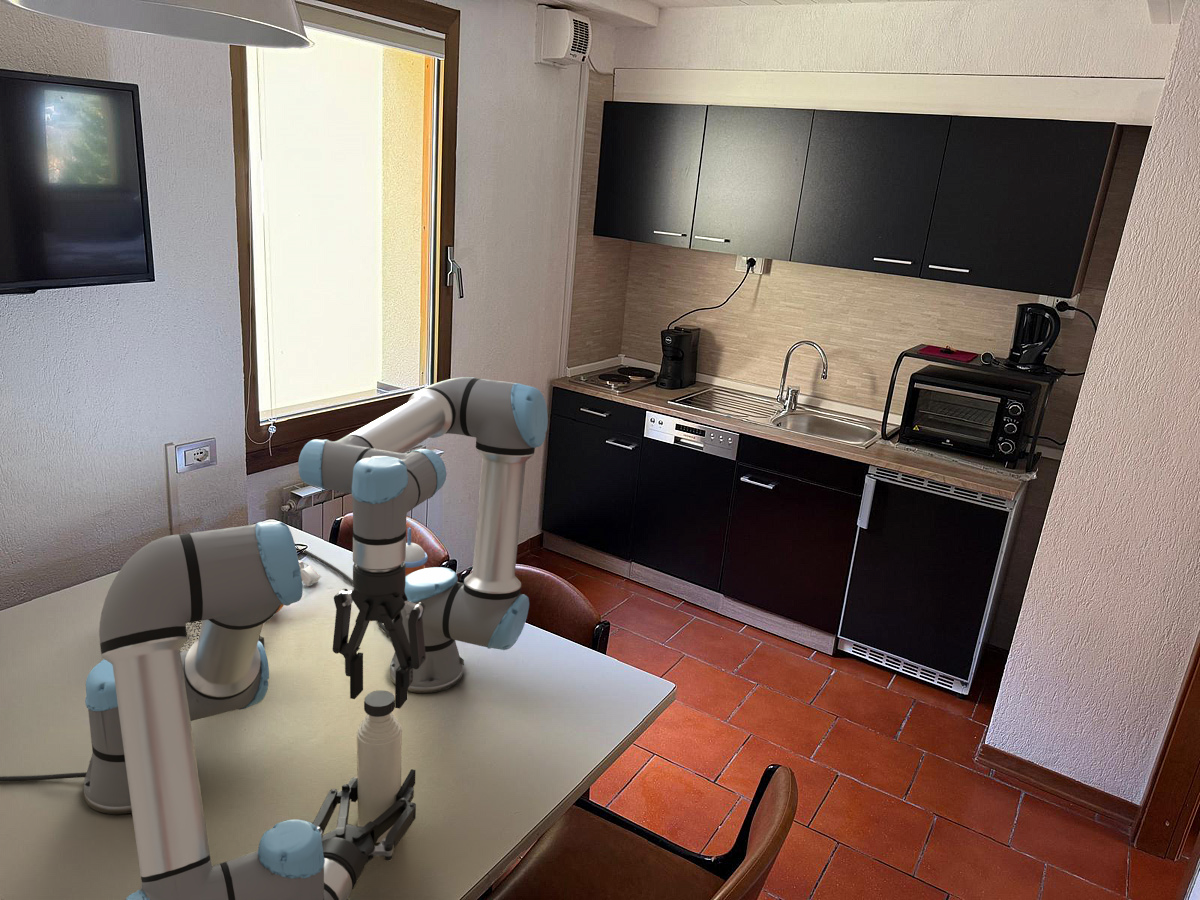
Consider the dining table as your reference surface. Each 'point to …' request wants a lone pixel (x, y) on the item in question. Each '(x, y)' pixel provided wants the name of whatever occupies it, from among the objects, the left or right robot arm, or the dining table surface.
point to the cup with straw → (414, 556)
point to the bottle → (378, 767)
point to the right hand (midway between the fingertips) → (378, 698)
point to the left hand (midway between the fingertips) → (391, 772)
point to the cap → (379, 703)
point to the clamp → (308, 574)
